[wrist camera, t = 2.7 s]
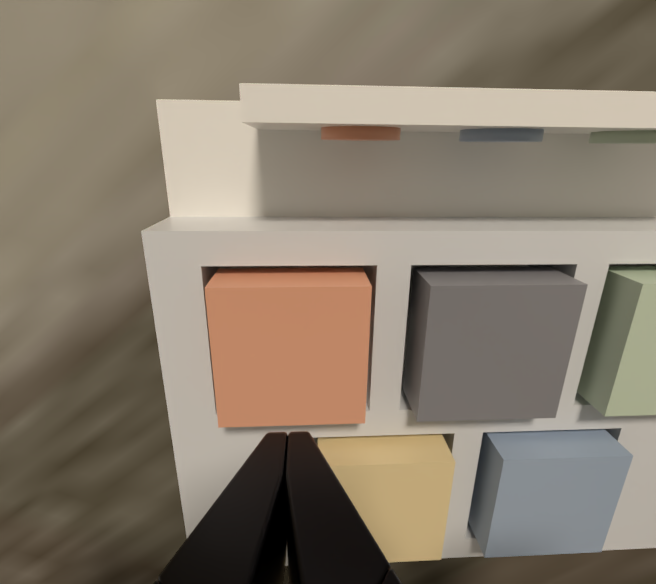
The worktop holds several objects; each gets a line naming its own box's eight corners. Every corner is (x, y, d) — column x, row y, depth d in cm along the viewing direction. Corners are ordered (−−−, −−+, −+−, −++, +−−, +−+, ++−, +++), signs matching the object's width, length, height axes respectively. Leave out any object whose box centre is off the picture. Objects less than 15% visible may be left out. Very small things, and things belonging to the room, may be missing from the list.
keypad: (624, 479, 20) (712, 570, 15) (211, 495, 18) (184, 598, 14) (746, 113, 14) (936, 97, 10) (166, 102, 13) (99, 80, 9)
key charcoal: (525, 386, 14) (555, 417, 12) (403, 388, 14) (417, 421, 12) (550, 266, 13) (588, 284, 11) (413, 267, 12) (431, 286, 11)
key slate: (570, 510, 16) (601, 551, 15) (465, 514, 16) (484, 557, 14) (596, 420, 15) (633, 455, 13) (480, 424, 15) (503, 460, 13)
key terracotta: (357, 389, 14) (365, 423, 12) (229, 393, 14) (218, 427, 12) (362, 267, 12) (371, 286, 11) (218, 268, 12) (204, 288, 10)
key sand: (426, 516, 16) (441, 559, 14) (316, 520, 16) (318, 565, 14) (437, 425, 15) (455, 462, 13) (317, 429, 14) (318, 466, 13)
